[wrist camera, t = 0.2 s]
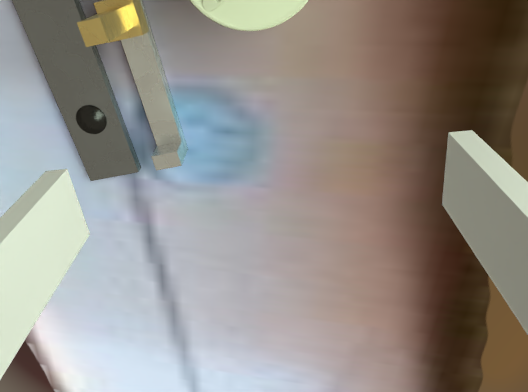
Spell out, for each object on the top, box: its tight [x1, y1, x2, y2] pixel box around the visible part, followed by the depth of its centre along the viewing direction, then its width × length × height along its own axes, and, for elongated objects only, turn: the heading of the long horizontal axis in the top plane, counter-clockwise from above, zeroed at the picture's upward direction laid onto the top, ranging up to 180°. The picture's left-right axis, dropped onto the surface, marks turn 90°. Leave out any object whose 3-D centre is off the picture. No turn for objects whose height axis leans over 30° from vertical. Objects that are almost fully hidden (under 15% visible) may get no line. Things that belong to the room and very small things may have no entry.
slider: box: [77, 0, 149, 47], centre depth 34 cm, size 3×3×8 cm
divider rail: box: [121, 0, 188, 170], centre depth 34 cm, size 28×3×9 cm, turn 12°
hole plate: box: [12, 0, 141, 181], centre depth 39 cm, size 30×5×1 cm, turn 12°
